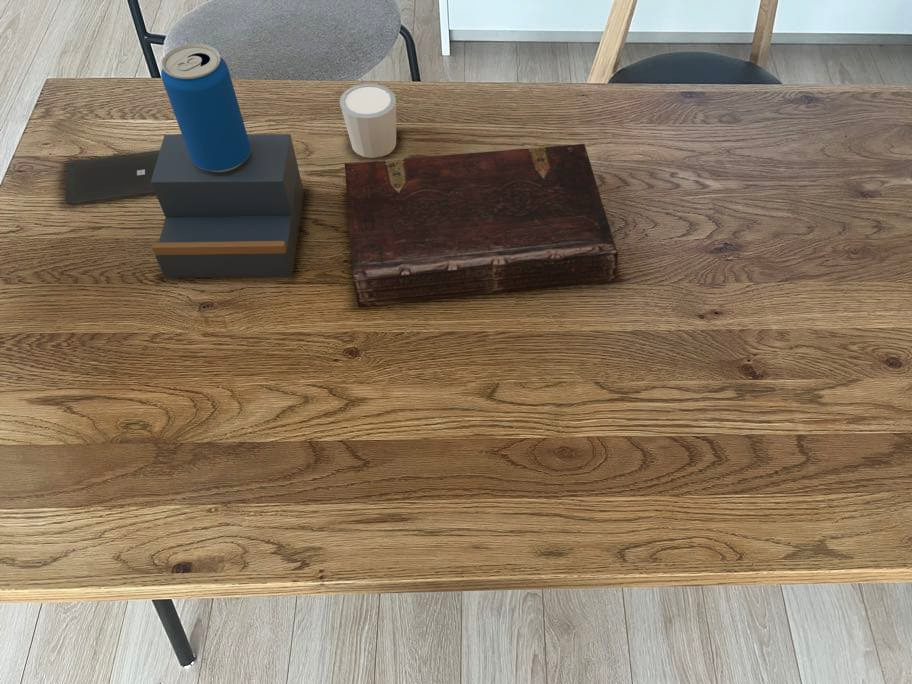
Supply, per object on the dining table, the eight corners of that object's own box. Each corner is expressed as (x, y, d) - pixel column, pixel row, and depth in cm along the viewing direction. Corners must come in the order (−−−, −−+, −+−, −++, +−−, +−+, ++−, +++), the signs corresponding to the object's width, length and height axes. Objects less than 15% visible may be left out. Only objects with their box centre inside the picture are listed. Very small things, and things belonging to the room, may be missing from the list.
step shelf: (166, 280, 97) (139, 221, 90) (187, 195, 105) (164, 134, 98) (293, 278, 98) (276, 219, 91) (304, 194, 106) (290, 133, 99)
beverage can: (264, 157, 96) (237, 60, 86) (215, 185, 93) (182, 88, 84) (228, 130, 99) (198, 33, 89) (180, 157, 96) (143, 59, 86)
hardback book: (359, 310, 96) (352, 279, 92) (350, 195, 106) (344, 163, 102) (613, 284, 100) (618, 253, 96) (581, 176, 110) (584, 143, 106)
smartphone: (197, 190, 106) (195, 185, 105) (66, 208, 103) (63, 203, 102) (195, 150, 110) (193, 145, 109) (69, 167, 107) (66, 161, 106)
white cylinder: (339, 137, 113) (331, 90, 107) (389, 124, 115) (383, 77, 109) (358, 169, 109) (350, 123, 103) (409, 155, 111) (404, 108, 105)
